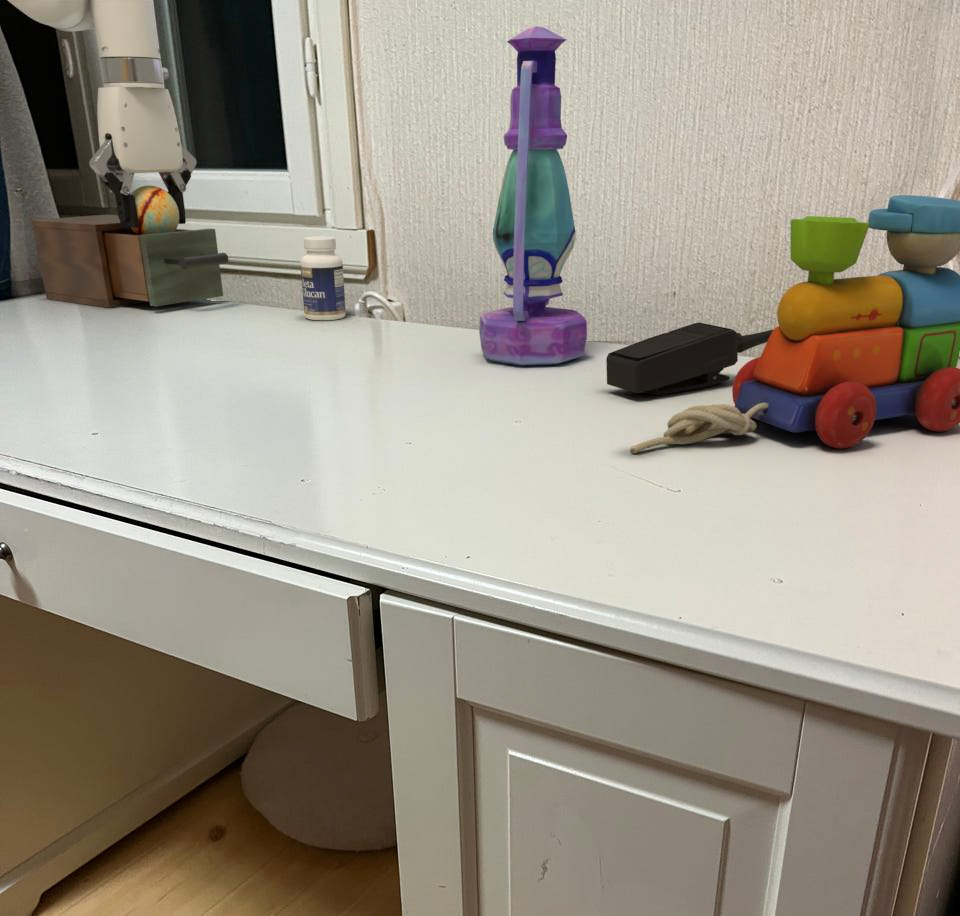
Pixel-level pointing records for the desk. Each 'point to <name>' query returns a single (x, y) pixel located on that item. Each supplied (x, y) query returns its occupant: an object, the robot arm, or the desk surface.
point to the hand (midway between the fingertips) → (153, 224)
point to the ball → (155, 211)
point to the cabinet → (77, 259)
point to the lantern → (534, 219)
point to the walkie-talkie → (679, 359)
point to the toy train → (853, 335)
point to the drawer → (164, 265)
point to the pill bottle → (322, 279)
